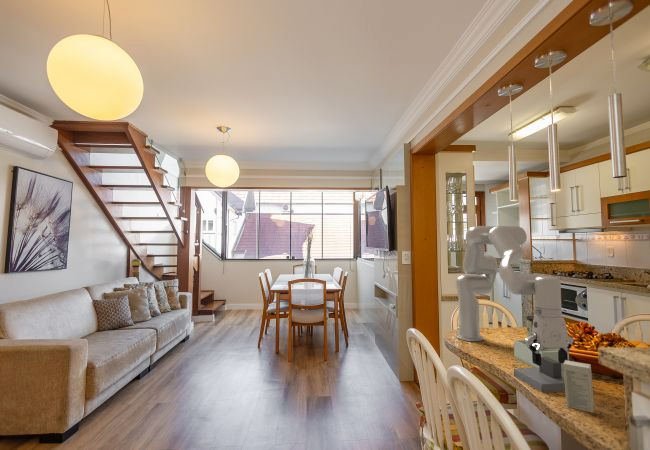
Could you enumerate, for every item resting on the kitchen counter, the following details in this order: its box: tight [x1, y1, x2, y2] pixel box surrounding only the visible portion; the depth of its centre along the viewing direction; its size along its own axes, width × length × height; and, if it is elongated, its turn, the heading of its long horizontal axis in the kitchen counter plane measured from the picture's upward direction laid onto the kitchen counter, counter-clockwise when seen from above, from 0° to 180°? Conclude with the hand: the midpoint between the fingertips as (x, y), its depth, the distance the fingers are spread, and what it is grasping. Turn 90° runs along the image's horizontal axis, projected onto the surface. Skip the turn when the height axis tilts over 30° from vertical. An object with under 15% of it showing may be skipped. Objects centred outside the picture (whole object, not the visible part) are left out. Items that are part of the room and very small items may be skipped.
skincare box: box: [563, 360, 595, 413], centre depth 94 cm, size 6×4×12 cm
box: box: [513, 339, 570, 370], centre depth 128 cm, size 15×11×7 cm
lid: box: [513, 357, 565, 393], centre depth 110 cm, size 17×13×8 cm
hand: (550, 363), depth 110 cm, fingers open, 9 cm apart
